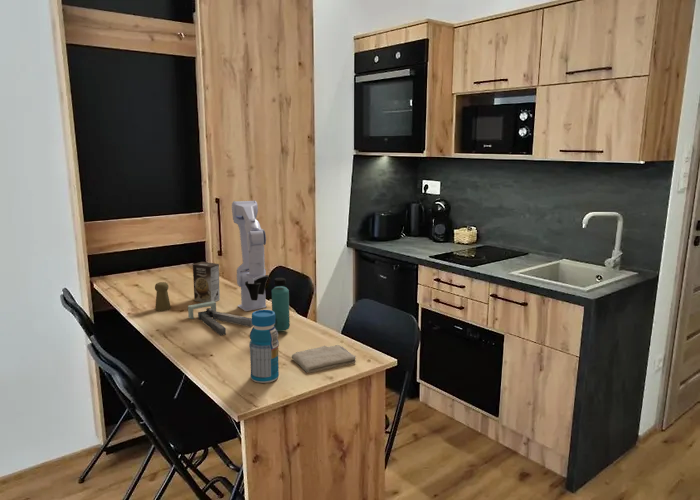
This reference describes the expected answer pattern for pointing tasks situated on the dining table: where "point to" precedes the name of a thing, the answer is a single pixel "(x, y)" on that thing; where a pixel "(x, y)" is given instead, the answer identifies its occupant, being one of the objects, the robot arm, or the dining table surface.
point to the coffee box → (206, 282)
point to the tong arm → (231, 318)
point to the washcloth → (323, 358)
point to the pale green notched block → (201, 305)
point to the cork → (162, 297)
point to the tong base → (211, 322)
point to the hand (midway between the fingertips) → (257, 297)
